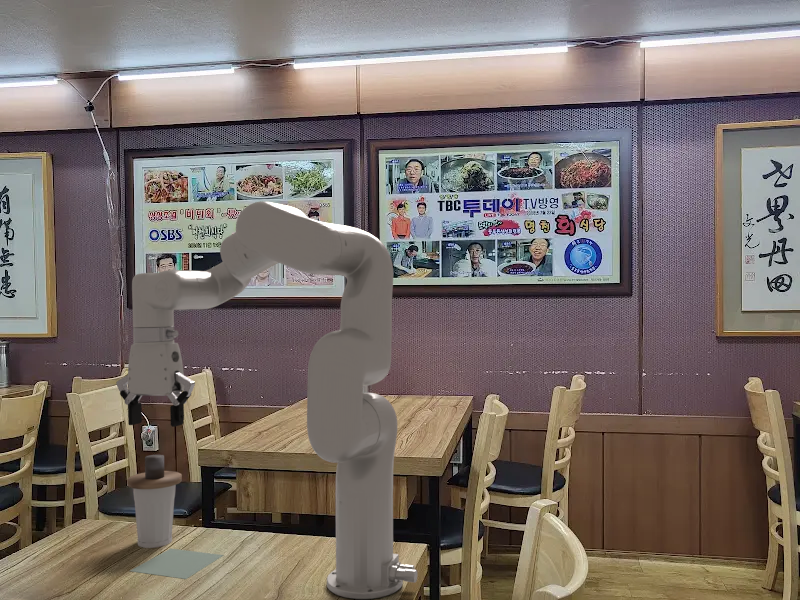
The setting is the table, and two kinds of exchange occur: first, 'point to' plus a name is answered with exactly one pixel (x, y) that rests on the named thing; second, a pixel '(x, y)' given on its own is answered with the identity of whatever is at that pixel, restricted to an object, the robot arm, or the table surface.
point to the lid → (154, 475)
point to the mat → (177, 563)
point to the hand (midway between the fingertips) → (156, 424)
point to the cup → (154, 516)
